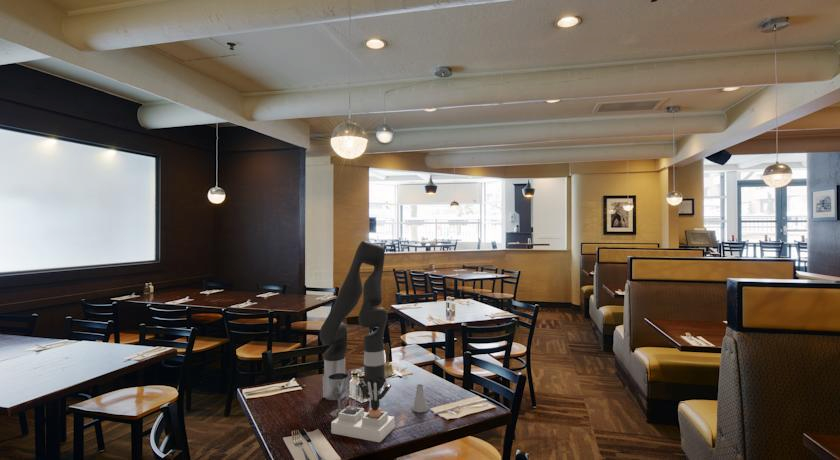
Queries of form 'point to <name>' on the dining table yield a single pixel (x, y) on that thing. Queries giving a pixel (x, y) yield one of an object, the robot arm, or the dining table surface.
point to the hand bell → (388, 365)
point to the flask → (420, 400)
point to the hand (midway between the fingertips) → (375, 409)
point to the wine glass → (338, 388)
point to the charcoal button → (351, 410)
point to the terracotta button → (375, 413)
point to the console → (363, 425)
